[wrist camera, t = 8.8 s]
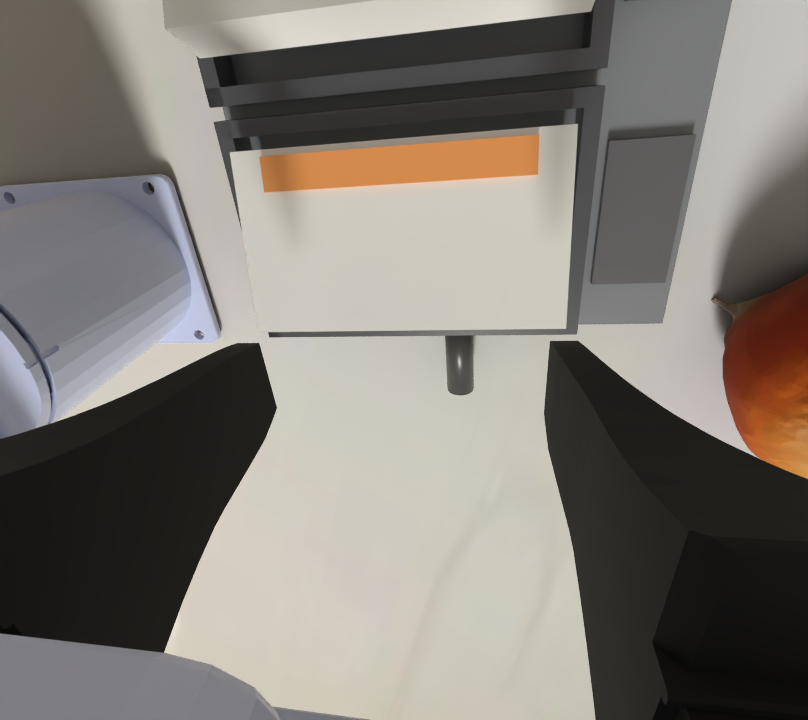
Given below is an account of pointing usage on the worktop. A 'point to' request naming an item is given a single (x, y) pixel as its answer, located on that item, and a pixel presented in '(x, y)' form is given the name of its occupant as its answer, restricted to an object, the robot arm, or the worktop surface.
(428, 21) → the rocker middle
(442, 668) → the worktop surface
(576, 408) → the robot arm
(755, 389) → the fruit
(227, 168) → the rocker switch panel
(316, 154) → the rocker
